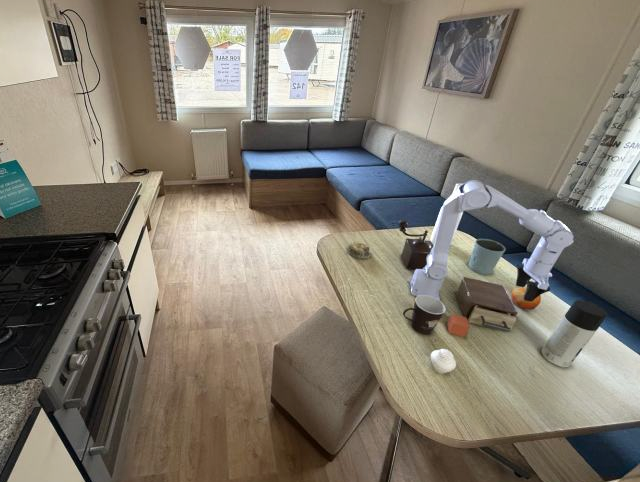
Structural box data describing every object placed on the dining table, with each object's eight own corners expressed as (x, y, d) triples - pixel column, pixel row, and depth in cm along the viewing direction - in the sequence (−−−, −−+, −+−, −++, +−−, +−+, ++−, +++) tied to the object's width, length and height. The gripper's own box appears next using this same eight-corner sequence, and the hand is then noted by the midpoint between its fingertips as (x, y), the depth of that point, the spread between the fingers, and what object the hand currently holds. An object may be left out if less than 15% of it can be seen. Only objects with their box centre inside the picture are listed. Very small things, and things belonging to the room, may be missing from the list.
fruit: (548, 312, 107) (544, 295, 104) (521, 317, 110) (517, 301, 107) (535, 297, 114) (530, 280, 111) (510, 302, 117) (505, 286, 114)
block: (449, 333, 99) (453, 323, 97) (446, 323, 103) (451, 313, 101) (464, 337, 98) (469, 327, 96) (461, 327, 101) (466, 317, 99)
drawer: (513, 342, 95) (521, 328, 93) (471, 331, 99) (478, 317, 96) (496, 305, 110) (503, 292, 107) (460, 296, 113) (466, 284, 111)
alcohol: (449, 240, 151) (471, 183, 137) (451, 249, 144) (474, 189, 130) (429, 236, 154) (448, 180, 140) (430, 245, 147) (450, 186, 133)
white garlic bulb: (455, 380, 84) (464, 363, 81) (431, 376, 85) (439, 359, 82) (446, 360, 90) (454, 344, 86) (424, 357, 91) (431, 340, 87)
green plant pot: (498, 270, 130) (509, 246, 124) (487, 279, 125) (499, 254, 119) (472, 259, 137) (482, 236, 132) (461, 266, 132) (471, 242, 126)
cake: (344, 255, 138) (345, 244, 136) (352, 246, 146) (353, 235, 143) (366, 261, 133) (368, 250, 131) (373, 251, 140) (375, 241, 138)
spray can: (572, 372, 88) (612, 320, 78) (542, 361, 91) (577, 310, 81) (566, 355, 93) (604, 305, 83) (538, 345, 96) (571, 296, 86)
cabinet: (507, 330, 101) (517, 312, 97) (464, 319, 105) (472, 302, 101) (495, 301, 113) (503, 285, 109) (456, 292, 117) (463, 276, 113)
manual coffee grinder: (424, 257, 137) (436, 222, 129) (432, 272, 128) (446, 235, 119) (388, 253, 140) (397, 218, 131) (393, 267, 130) (404, 230, 122)
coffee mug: (433, 321, 103) (442, 298, 99) (437, 340, 96) (448, 317, 91) (396, 312, 107) (403, 290, 102) (398, 330, 99) (406, 307, 95)
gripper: (569, 275, 89) (547, 310, 95) (548, 250, 101) (530, 283, 107) (539, 269, 91) (519, 304, 97) (522, 245, 103) (506, 278, 109)
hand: (523, 293), depth 102 cm, fingers open, 7 cm apart
